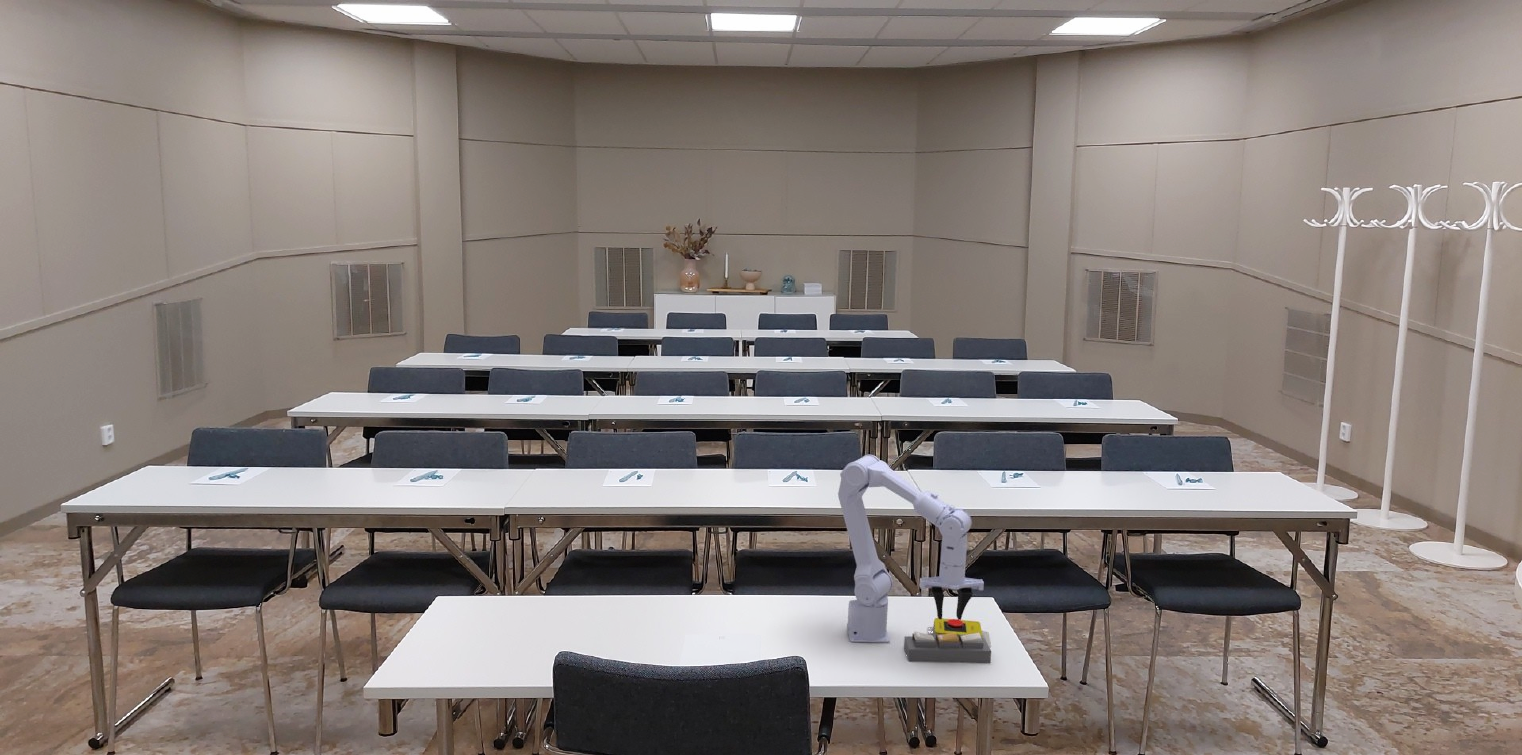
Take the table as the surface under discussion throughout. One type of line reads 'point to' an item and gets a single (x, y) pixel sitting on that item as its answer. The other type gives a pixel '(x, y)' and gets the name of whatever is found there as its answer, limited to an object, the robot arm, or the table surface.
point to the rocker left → (923, 637)
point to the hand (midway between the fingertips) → (949, 617)
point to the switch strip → (946, 650)
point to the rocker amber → (948, 637)
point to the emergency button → (958, 628)
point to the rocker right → (971, 638)
